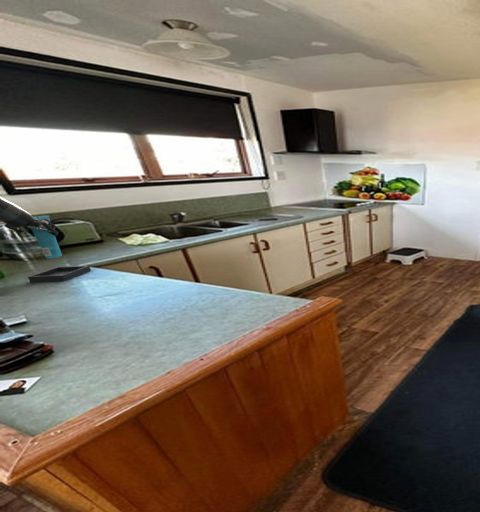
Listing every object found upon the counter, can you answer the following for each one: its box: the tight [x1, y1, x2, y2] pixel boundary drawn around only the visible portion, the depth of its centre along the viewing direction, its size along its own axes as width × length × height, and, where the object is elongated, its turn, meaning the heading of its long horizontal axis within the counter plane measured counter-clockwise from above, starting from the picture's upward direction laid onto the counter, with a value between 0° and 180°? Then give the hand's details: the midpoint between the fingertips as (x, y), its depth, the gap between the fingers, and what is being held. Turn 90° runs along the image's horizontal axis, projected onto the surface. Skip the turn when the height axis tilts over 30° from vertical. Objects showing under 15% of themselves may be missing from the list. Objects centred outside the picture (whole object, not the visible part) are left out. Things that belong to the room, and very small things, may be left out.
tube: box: [31, 215, 63, 259], centre depth 122 cm, size 7×5×19 cm, turn 123°
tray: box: [27, 265, 92, 283], centre depth 128 cm, size 15×13×3 cm
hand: (47, 234), depth 123 cm, fingers closed on tube, 6 cm apart
